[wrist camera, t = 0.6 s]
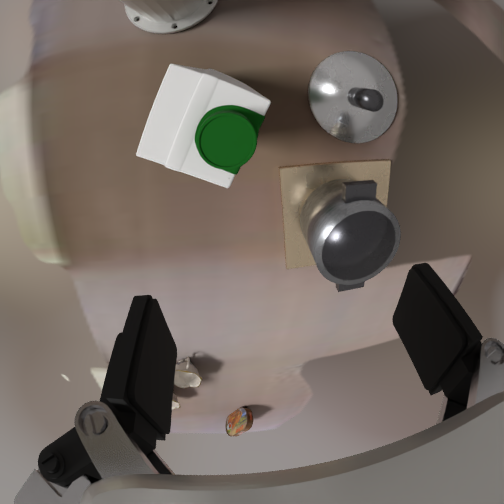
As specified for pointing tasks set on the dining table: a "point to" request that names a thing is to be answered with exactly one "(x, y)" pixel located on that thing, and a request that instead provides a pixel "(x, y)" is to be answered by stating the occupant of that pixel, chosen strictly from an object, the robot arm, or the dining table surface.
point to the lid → (352, 96)
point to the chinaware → (185, 378)
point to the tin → (239, 422)
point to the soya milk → (203, 124)
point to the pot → (339, 219)
